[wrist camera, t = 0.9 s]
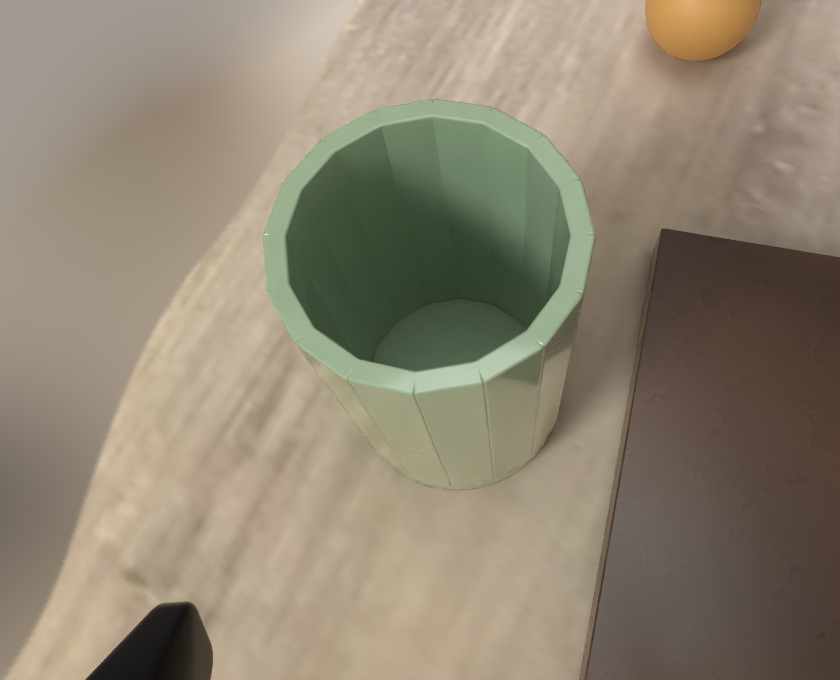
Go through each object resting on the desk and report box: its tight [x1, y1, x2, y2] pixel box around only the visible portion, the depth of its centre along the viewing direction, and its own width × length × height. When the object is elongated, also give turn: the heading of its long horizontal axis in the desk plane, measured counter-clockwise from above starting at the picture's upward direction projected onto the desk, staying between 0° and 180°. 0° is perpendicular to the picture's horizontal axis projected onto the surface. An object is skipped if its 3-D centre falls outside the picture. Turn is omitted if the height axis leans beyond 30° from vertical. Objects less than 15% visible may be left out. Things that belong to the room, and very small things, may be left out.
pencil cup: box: [263, 99, 595, 490], centre depth 20 cm, size 7×7×10 cm
